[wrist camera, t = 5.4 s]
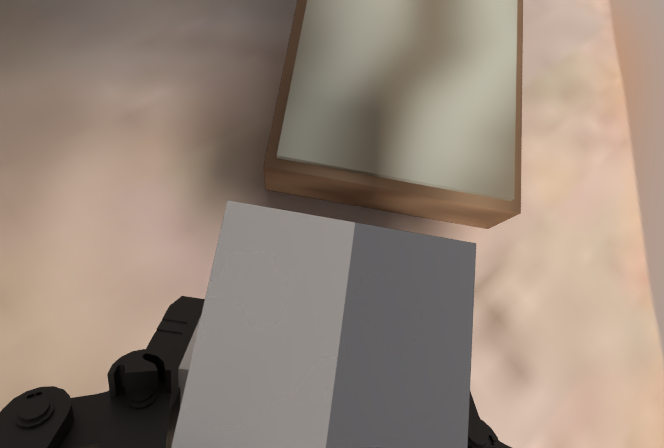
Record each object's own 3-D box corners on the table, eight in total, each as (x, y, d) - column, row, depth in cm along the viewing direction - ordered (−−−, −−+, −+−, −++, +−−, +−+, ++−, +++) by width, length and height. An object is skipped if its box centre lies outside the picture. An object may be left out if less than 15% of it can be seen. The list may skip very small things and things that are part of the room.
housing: (227, 437, 17) (123, 658, 6) (258, 277, 19) (227, 199, 8) (340, 451, 18) (456, 682, 6) (359, 293, 19) (476, 243, 8)
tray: (265, 189, 20) (263, 163, 17) (308, -25, 24) (312, -79, 21) (488, 229, 21) (524, 211, 18) (495, 17, 25) (526, -27, 22)
